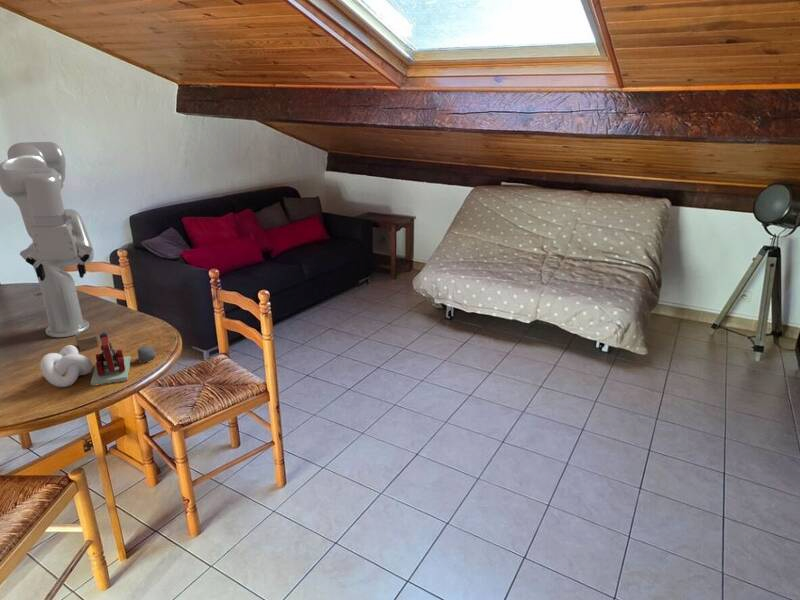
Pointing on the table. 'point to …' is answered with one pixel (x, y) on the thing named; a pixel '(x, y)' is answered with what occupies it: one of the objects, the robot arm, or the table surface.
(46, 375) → the white knot
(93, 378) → the board
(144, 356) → the grey rounded pebble
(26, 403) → the table surface
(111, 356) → the red wheeled piece
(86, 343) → the walnut block
